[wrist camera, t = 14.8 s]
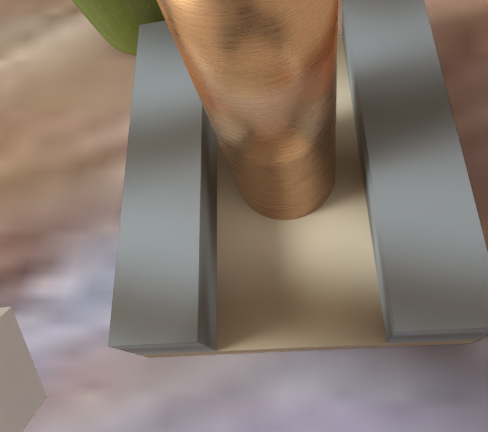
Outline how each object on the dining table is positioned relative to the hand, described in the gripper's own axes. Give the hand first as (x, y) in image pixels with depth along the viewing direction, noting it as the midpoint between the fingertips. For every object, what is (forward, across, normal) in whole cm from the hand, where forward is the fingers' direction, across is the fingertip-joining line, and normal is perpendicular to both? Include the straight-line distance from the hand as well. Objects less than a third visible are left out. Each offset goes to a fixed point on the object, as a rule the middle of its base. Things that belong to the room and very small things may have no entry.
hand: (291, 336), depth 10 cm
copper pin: (+10, 0, +1) cm, 10 cm away
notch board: (+10, 0, 0) cm, 10 cm away
